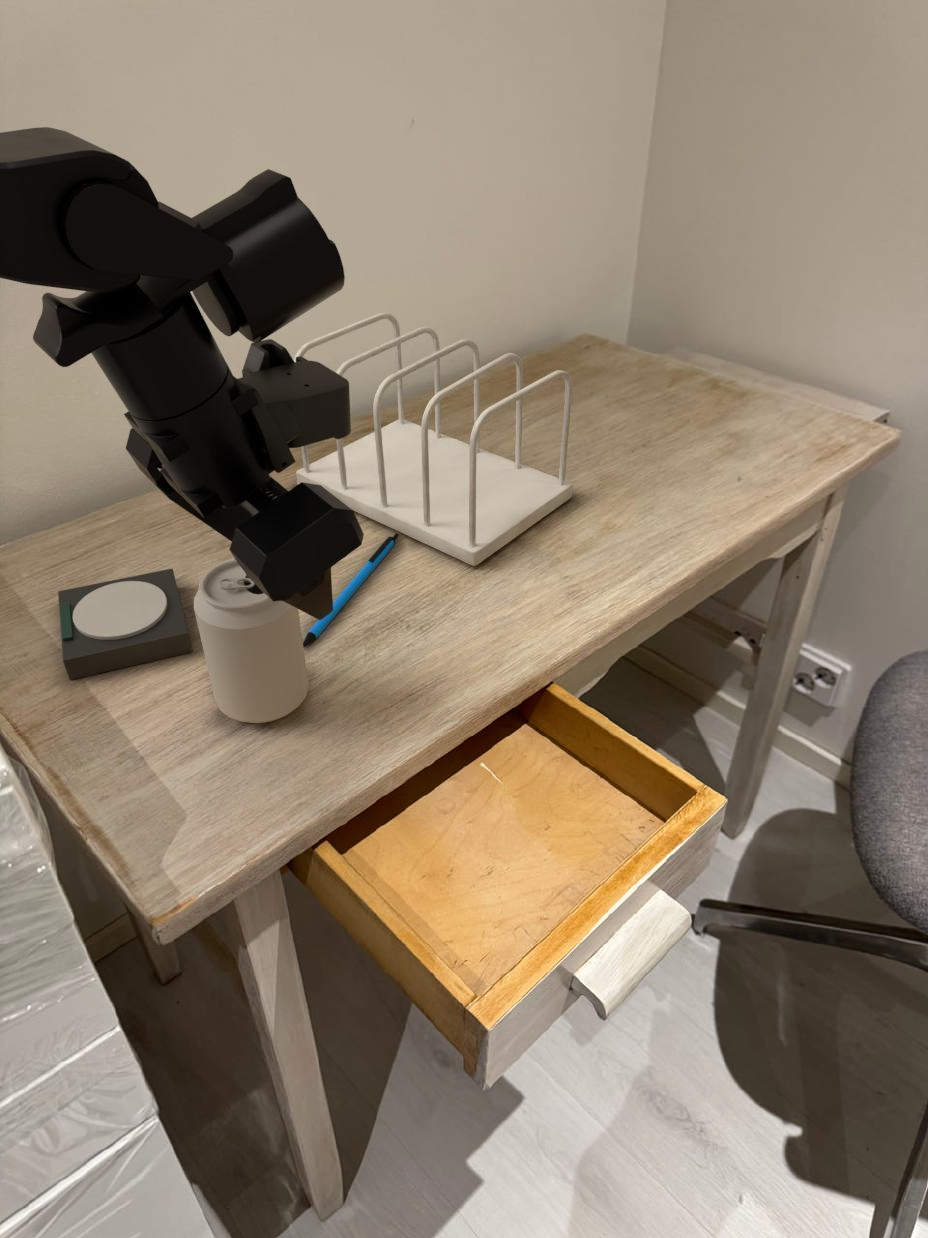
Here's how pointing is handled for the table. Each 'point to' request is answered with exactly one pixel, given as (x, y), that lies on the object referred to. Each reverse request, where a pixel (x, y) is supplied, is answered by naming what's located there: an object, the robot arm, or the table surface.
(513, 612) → the table surface
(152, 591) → the scale
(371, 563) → the pen
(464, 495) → the file sorter
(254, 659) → the can
